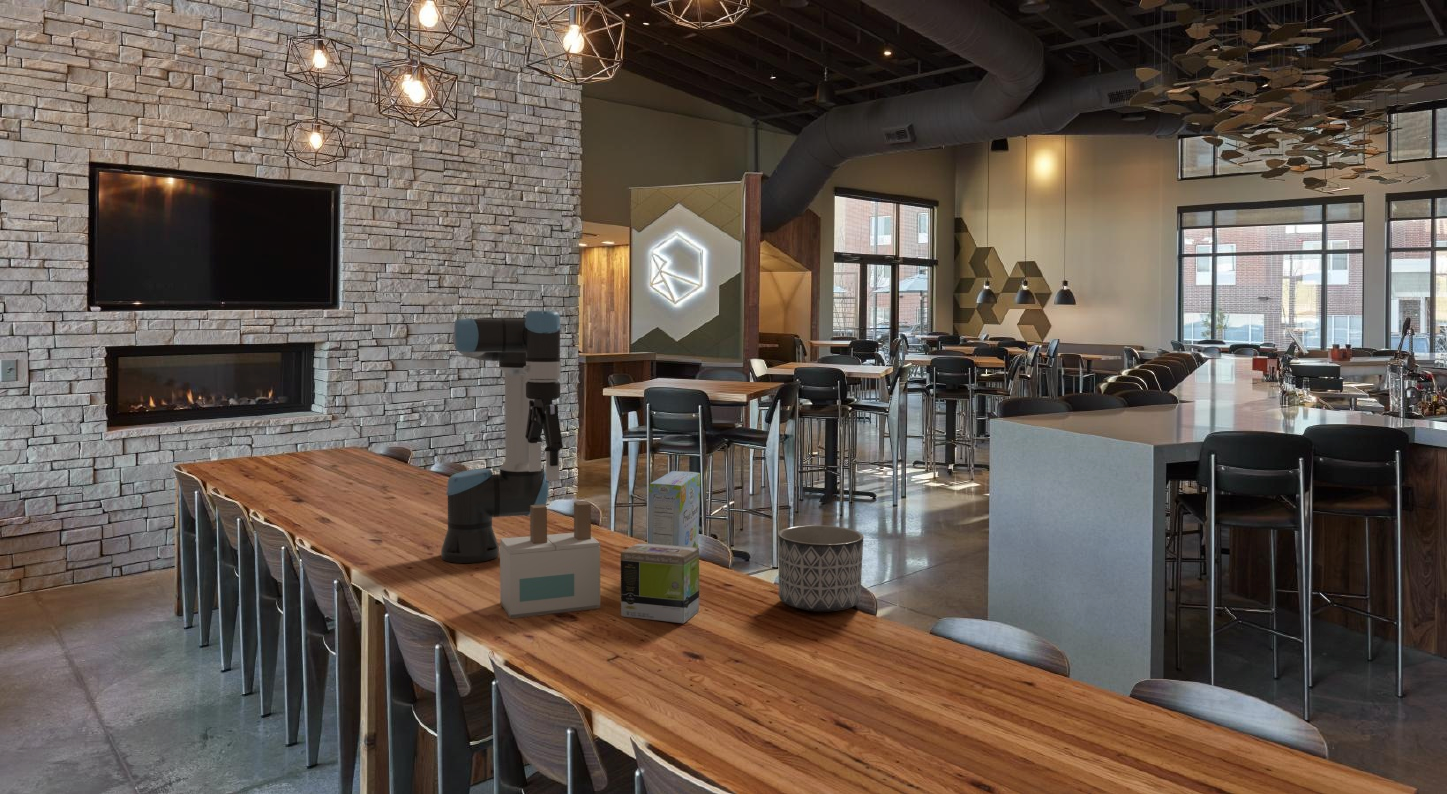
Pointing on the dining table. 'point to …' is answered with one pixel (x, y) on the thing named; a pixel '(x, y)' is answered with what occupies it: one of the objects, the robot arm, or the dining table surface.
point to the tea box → (660, 582)
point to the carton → (554, 573)
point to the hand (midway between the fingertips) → (543, 475)
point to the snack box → (674, 509)
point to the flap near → (532, 534)
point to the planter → (820, 567)
